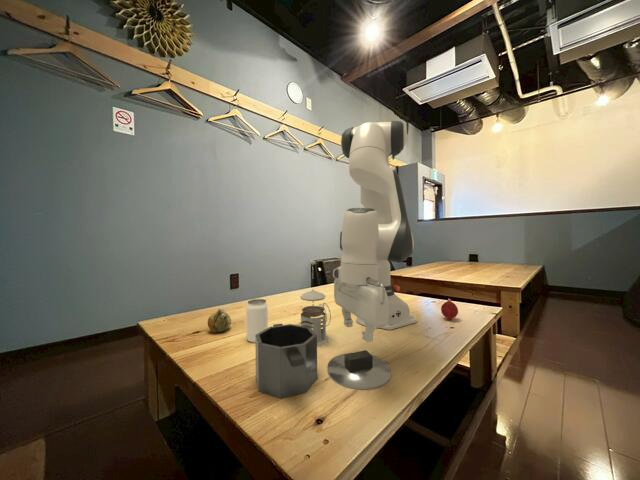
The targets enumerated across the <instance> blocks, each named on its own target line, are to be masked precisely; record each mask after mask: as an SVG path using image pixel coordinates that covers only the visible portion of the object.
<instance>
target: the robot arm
mask: <svg viewBox="0 0 640 480" xmlns="http://www.w3.org/2000/svg"><path fill="white" fill-rule="evenodd" d="M407 137H408V134H407V129H406V126H405V124H404V123H403V121H399V120H391V121H379V122H378V121H377V122H372V121H367V122H364V123H362V124H360V125H359V126H355V127H354V126H352V127H349V128H347V129H345V130H344V131H343V132H342V135H341V138H340V139H341V140H340V147H341V151H342V154H343V156H345V157H346V158H347V159H348V171H349V176H350V178H351V179H352V180H353V181H354V182H355V184H356V185H358V186H360V203H361V205H362V206H363V207H351V208H348V209H346V210H345V212H344V216H343V221H342V228H341V231H340V233H339V234H340V235H339V249H340V250H341V251H342V256H341V258H340V266H338V267H336V268H335V269H333V271H332V277H333V278H334V281H333V298H334V302H335V304H336V305H337V306H338V307H340V308H341V313H342V316H343V324H344V326H345V327H346V328H352V327H353V326H354V325H353V323H354V322H353V318H352V315H353V316H355V317H356V322H357V323H358V324H359V325H363V326H365V330H364V331H362V338H361V339H362V340H364V341H365V342H366V343H370V342H371V343H372V342H373V340H374V339H373V338H374V333H375V331H376V330H377V329H383V330H390V331H391V330H394V329H398V328H401V327H405V326H408V325H412V324H414V323H415V324H416V323H417V318H416V317H415V316H413V315H411V313H410V312H411V311H410V308H409V305H408V303H407V302H405V301H404V300H403V299H402V298H400V297H399V296H398V295H396V293H395V291H396V292H400V291H401V287H400V286H399V285H392V284H391V262H395V263H402V262H404V261H405V260H407V259H408V258H410V256H412V255H413V251H414V247H415V241H414V235H413V232H412V229H411V226H410V224H409V223H410V222H409V218H408V214H407V207H406V203H405V198H404V192H403V188H402V185H401V179H400V177H399V173H398V172H397V171H396V170H394V169H392V168H391V165H390V161H389V158H390V156H391V158H392V160H395V157H397V156H398V155H400V154H401V152H402V151H403V150H404V149H405V148H404V147H405V145H406V142H407V139H408V138H407Z"/></svg>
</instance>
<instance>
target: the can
mask: <svg viewBox="0 0 640 480" xmlns="http://www.w3.org/2000/svg"><path fill="white" fill-rule="evenodd" d="M268 311H269V310H268V304H267V300H266V299H263V298H259V299H258V298H255V299H250V300H248V301H247V306H246V340H247V341H248V342H250V343H252V344H254V343H255V335H256V334H258V333H260V332H261V331H263V330H265V329H267V328H269V325H268V322H269V321H268V319H269V317H268ZM255 344H256V343H255Z"/></svg>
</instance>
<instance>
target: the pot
mask: <svg viewBox="0 0 640 480" xmlns="http://www.w3.org/2000/svg"><path fill="white" fill-rule="evenodd" d="M255 378H256V383H257V384H256V385H257V389H258V392H259V393H262V394H265V395H268V396H271V397H275V398H277V399H284V398H288V397H293V396H296V395H301V394H305V393H307V392H308V391H309V390H310V388H312V386H313V385H314V383H315V382H316V381H317V380H318V346H317V335H316V334H315V333H314V332H313V330H312V329H311V328H310V327H306V326H301V324H300V325H299V324H292V323H289V324H283V323H275V324H272V326H268V328H267V329H265V330H263V331H261V332H260V333H258V334H256V335H255Z"/></svg>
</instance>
